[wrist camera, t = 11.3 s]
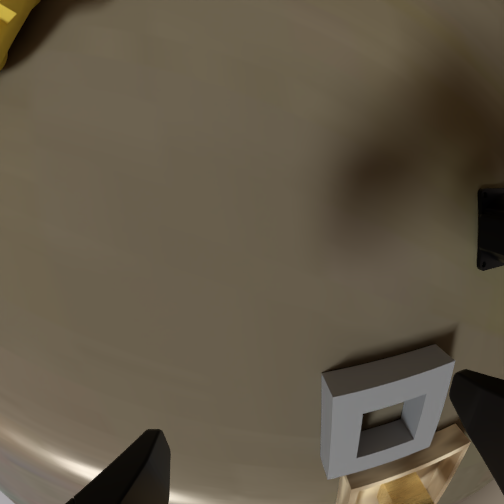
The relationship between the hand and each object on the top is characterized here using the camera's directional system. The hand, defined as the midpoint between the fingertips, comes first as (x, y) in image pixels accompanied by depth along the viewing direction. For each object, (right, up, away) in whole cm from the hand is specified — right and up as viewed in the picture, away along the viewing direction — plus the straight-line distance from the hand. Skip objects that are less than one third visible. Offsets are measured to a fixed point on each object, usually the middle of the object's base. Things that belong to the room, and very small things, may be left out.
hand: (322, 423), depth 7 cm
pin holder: (+9, -8, +14) cm, 19 cm away
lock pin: (+14, -22, +17) cm, 31 cm away
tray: (+14, -21, +18) cm, 31 cm away
